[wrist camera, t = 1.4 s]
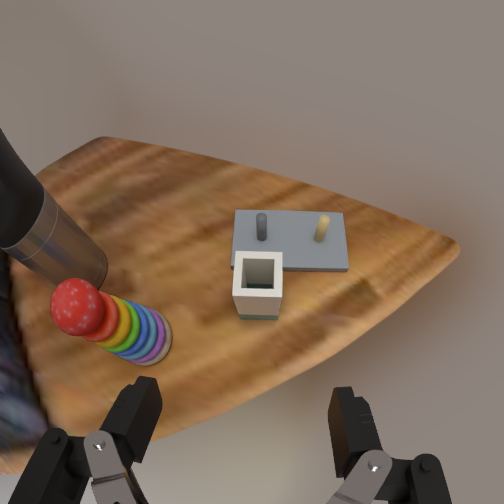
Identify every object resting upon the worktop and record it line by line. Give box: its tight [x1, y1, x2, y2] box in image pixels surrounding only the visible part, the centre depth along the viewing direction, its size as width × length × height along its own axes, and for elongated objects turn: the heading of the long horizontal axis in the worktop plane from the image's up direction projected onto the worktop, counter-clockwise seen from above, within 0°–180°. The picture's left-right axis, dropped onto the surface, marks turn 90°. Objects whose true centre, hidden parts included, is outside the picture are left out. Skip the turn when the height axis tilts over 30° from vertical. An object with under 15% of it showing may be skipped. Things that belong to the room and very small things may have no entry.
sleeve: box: [232, 251, 282, 320], centre depth 33 cm, size 5×5×10 cm
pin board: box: [231, 210, 349, 272], centre depth 39 cm, size 16×9×6 cm, turn 87°
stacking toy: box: [50, 278, 172, 366], centre depth 28 cm, size 8×8×19 cm
